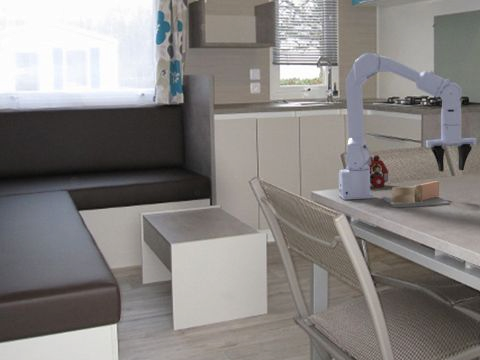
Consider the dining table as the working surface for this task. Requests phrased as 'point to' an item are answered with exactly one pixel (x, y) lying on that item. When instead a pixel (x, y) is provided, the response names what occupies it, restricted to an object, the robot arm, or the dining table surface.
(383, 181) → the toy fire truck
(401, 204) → the card
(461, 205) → the dining table surface
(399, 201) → the fence fixed
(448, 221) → the dining table surface
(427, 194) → the tan flat block
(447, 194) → the dining table surface
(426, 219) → the dining table surface
